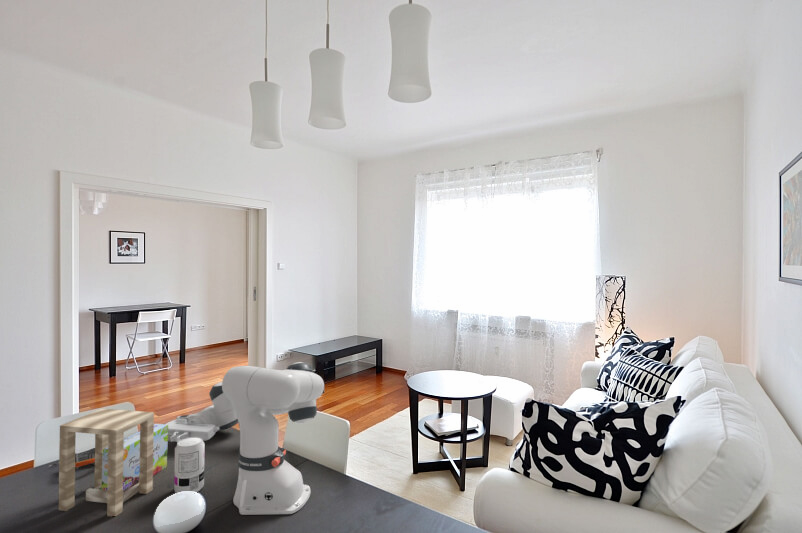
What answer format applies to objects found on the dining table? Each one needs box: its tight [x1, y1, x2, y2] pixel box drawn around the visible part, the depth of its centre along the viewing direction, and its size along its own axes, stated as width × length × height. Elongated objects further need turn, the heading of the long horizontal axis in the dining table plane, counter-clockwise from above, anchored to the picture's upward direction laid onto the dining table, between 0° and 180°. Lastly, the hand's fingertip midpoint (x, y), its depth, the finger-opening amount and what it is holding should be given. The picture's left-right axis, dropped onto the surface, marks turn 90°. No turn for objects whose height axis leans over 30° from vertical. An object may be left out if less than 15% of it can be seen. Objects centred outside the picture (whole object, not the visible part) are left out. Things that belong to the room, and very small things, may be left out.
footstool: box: [58, 408, 155, 517], centre depth 122 cm, size 18×15×24 cm
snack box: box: [101, 423, 169, 492], centre depth 131 cm, size 21×6×15 cm, turn 171°
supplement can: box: [173, 437, 206, 494], centre depth 128 cm, size 8×8×15 cm
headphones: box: [49, 447, 95, 471], centre depth 142 cm, size 17×5×20 cm
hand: (173, 439), depth 150 cm, fingers closed
